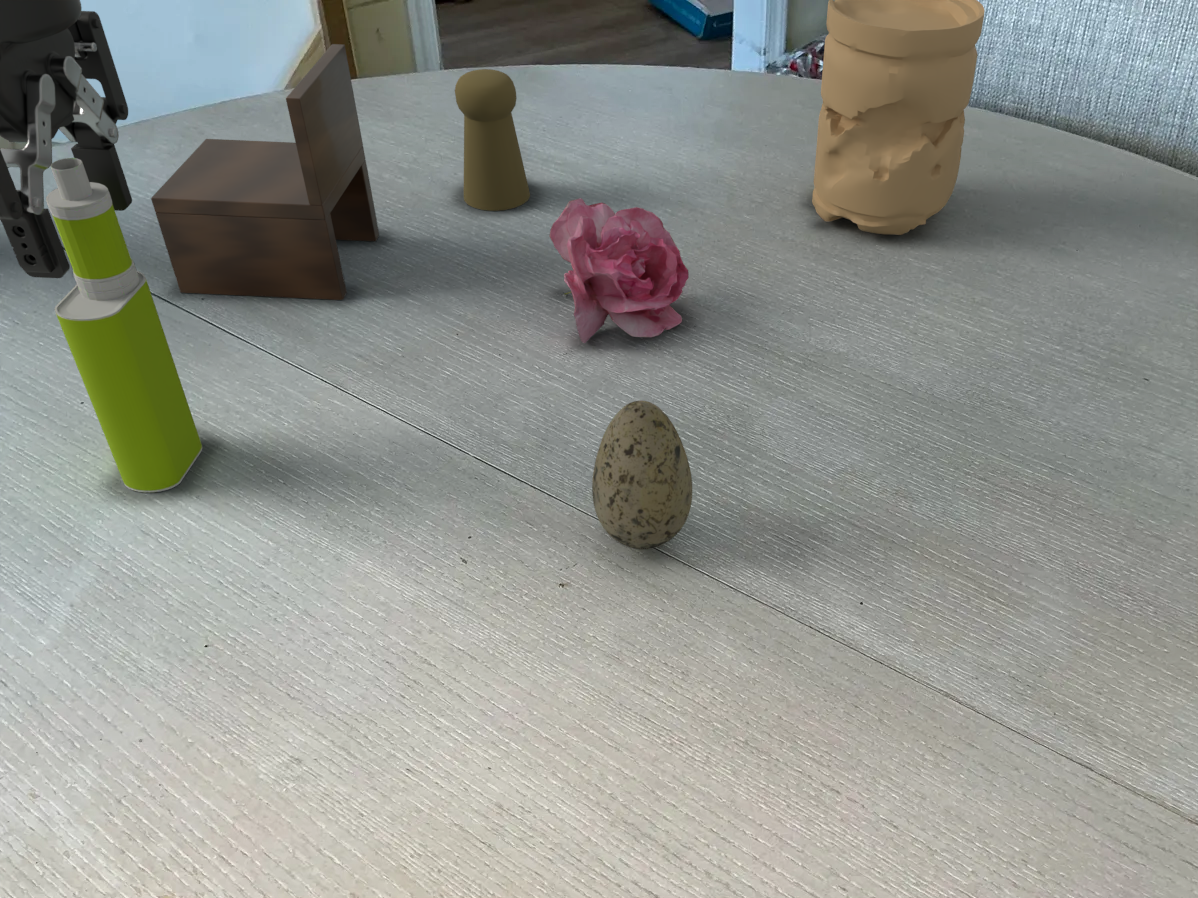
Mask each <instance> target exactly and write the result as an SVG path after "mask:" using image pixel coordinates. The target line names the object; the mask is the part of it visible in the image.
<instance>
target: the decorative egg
mask: <svg viewBox="0 0 1198 898" xmlns="http://www.w3.org/2000/svg"><path fill="white" fill-rule="evenodd" d="M691 471H692V470H691V466H690V462H689V459H688V456H687V452H686V449H685V447H684V444H683V442H682V439H681V436H680V435H679V432H678V431H677V428H676V427H675V425H674V424H673V422H672V421H671V419H670V418H669V416H668V415H667V414H666V413H665V412H664V410H663V409H661V408H660V407H659V406H658V405H656V404H655V403H652V402H650V401H647V400H634V401H632V402H629V403H627V404H626V405H624V406H623V407H621V408H620V409H619V410H618V411H617V413H616V414H615V415H614V416H613V418H612V419H611V421H610V422H609V424H608V425H607V427H606V429H605V431H604V433H603V435H602V438H601V441H600V444H599V447H598V449H597V452H596V456H595V461H594V466H593V471H592V480H591V481H592V482H591V493H592V494H591V495H592V502H593V507H594V511H595V514H596V517H597V519H598V522H599V523H600V526H601V527H602V528H603V530H604V531H605V532H606V533H607V534H608V536H610V537H611V538H612V539H613V540H615V541H616V542H617V543H619V544H620V545H622V546H625V547H627V548H630V549H633V550H652V549H656V548H659V547H662V546H663V545H665V544H667V543H668V542H670V541H671V540H672V539H674V537H676V536H677V535H678V534H679V533H680V531H681V530H682V528H683V527H684V525H685V524H686V522H687V520H688V518H689V515H690V512H691V508H692V504H693V503H692V502H693V479H692V478H693V477H692V472H691Z"/></svg>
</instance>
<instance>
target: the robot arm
mask: <svg viewBox="0 0 1198 898" xmlns="http://www.w3.org/2000/svg"><path fill="white" fill-rule="evenodd" d="M82 8H83V7H82V1H81V0H0V138H2V139H4V140H6V141H8V142H9V143H26V144H25V146H24V147H21V148H5V147H3V148H1V147H0V222H1V224H2V226H3V229H4V232H5V234H6V236H7V239H8V241H9V244H10V246H11V247H12V251H13V253H14V255H15V258H16V260H17V263H18V266H19V267H20V268H21V269H22V271H23V272H24V273H25V274H26V275H28V276H30V277H32V278H42V279H44V278H45V279H61V278H63V277H64V275H66V274H67V273H68V272H69V270H70V267H71V264H70V261H69V259H68V256H67V254H66V251H65V248H64V246H63V243H62V240H61V238H60V235H59V233H58V230H57V229H56V228H57V227H56V225H55V224H54V223H55V222H54V220H53V217H52V216H51V215H52V214H51V212H50V210H49V208H45V193H44V192H45V191H44V189H45V188H44V187H45V186H44V172H45V171H46V170H48V169H49V168H51V164H52V163H53V141H52V140H53V139H54V138H55V137H56V135H57V133H58V131H59V132H61V133H62V134H63V136H64V137H65V138H66V139H68V141H69V142H71V143H75V144H74V145H73V146H72V147H71V148H70V150H71V153H72V156H73V158H77V159H80V160H81V161H82V163H83V165H84V168H85V171H86V174H87V177H88V180H89V182H94V183H99V184H102V185H104V186H106V187H107V188H108V191H109V193H110V196H111V199H112V204H113V207H114V210H115V212H116V211H118V212H119V211H120V212H122V211H125V210H127V209H128V207H130V205H131V204H132V203H133V198H132V197H133V196H132V194H131V191H130V187H129V185H128V182H127V178H126V176H125V173H124V170H123V167H122V164H121V160H120V157H119V154H118V151H117V148H116V145H115V144H117V143H118V141H119V129H118V126H117V123H118V121H126V120H127V119H128V117H129V106H128V103H127V99H126V96H125V93H124V90H123V86H122V84H121V82H120V81H121V80H120V77H119V75H118V72H117V68H116V64H115V62H114V59H113V56H112V52H111V49H110V46H109V42H108V40H107V36H106V32H105V30H104V26H103V24H102V20H101V18H100V15H99V13H97V12H96V11H95V10H94V11H93V10H82ZM88 80H96V81H98V82H99V84H100V85H101V87H102V91H103V94H104V96H101V95H100V93H98V91H97V90H96V89H95V88H94V86H93V85H92V84H91V83H90V81H88ZM9 168H18V169H19V178H20V179H19V180H20V181H19V183H20V189H17V188H16V185H15V183H14V180H13V178H12V175H11V172H10V170H9Z"/></svg>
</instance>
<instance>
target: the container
mask: <svg viewBox="0 0 1198 898" xmlns="http://www.w3.org/2000/svg"><path fill="white" fill-rule="evenodd" d="M984 21H985V7H984V5H983V4H982V3H981V2H980V1H979V0H828V2H827V13H826V22H825V23H826V30H827V31H828V32H827V33H828V34H827V35H826V36H825V38H824V51H823V61H822V62H823V63H822V72H821V86H820V96H821V99H822V103H821V108H820V111H819V115H818V120H817V121H818V122H817V123H818V124H817V135H816V137H817V138H816V149H815V161H814V172H813V173H814V174H813V186H814V188H813V190H812V198H811V201H812V202H811V203H812V206H813V207H814V209H815V212H816V213H817V215H818V216H819V217H820V218H821V219H822V220H823V221H824V222H826V223H829V222H833V221H836V220H839V219H843V218H844V219H846V220H849V221H851V222H852V223H854V224H856V225H857V228H858V230H860V231H862V232H866V233H871V234H879V235H898V236H902V235H905V234H907V233H909V232H910V230H914V229H916V228H917V227H918V226H922V225H926V224H927V220H928V219H929V218H931V217H932V216H934V215H936V214H938V213H939V212H941V211H942V210H943V208H945V206H946V205H947V204H948V202H949V200H950V198H951V197H952V194H953V193H954V190H955V186H956V184H957V183H956V182H957V179H958V175H959V171H960V165H961V157H962V146H963V143H964V137H965V122H966V116H965V109H966V108H967V107H968V105H969V103H970V101H971V95H972V91H973V86H974V82H975V81H974V80H975V74H976V68H977V61H978V51H977V47H976V45H977V43H978V42H979V39H980V38H981V36H982V31H983V26H984Z"/></svg>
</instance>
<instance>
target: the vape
mask: <svg viewBox="0 0 1198 898" xmlns="http://www.w3.org/2000/svg"><path fill="white" fill-rule="evenodd" d="M50 169H51V172H52V175H53V178H54V181H55V183H56V186H57V188H54V189H53V190H51V191H50V192H49V193H48V194H47V195H46V198H45V202H46V204H47V208H48V210H49V213H50V215H52V216H51V217H52V219H53V222H54V223H55V224H54V225H55V227H56V228H57V229H56V230H57V233H58V235H59V238H60V241H61V243H62V246H63V248H64V251H65V254H66V256H67V259H68V262H69V264H70V267H71V268H72V273H73V278H74V280H75V283H76V284H75V285H74V286H73V287H72V289H70V291H69V292H67V294H66V295H65V296H64V297H63V298H61V300H59V302H58V303H57V304H56V305H55V306H54V313H55V315H56V318H57V320H58V322H59V325H60V328H61V330H62V333H63V335H64V338H65V340H66V342H67V345H68V348H69V351H70V352H71V355H72V357H73V360H74V363H75V365H76V367H77V370H78V372H79V375H80V377H81V381H82V382H83V385H84V387H85V390H86V393H87V394H88V397H89V400H90V402H91V405H92V407H93V410H94V412H95V415H96V418H97V420H98V422H99V425H100V427H101V430H102V432H103V435H104V437H105V440H106V442H107V445H108V447H109V450H110V452H111V454H112V458H113V460H114V462H115V465H116V468H117V470H118V473H119V475H120V477H121V480H122V482H123V485H124V486H125V487H126V488H127V489H129V490H131V491H135V492H137V493H160V492H164V491H168V490H171V489H173V488H176V487H177V486H179V484H181V483H182V482H183V480H184V478H185V477H186V475H187V474H188V472H189V471H190V469H191V468H192V466H193V465H194V463H195V462H196V461H197V459H198V458H199V456H200V454H201V453H202V451H203V444H202V441H201V438H200V436H199V432H198V430H197V426H196V424H195V421H194V417H193V415H192V411H191V408H190V406H189V402H188V400H187V397H186V394H185V391H184V387H183V384H182V382H181V379H180V375H179V373H178V369H177V367H176V364H175V361H174V358H173V355H172V352H171V349H170V345H169V343H168V340H167V337H166V334H165V331H164V327H163V325H162V322H161V319H160V316H159V313H158V310H157V306H156V304H155V301H154V298H153V295H152V293H151V289H150V286H149V283H148V281H147V277H146V275H145V273H143V272H141V271H138V270H137V268H136V265H135V262H134V260H133V259H132V257H131V255H130V251H129V248H128V246H127V243H126V239H125V237H124V234H123V230H122V228H121V225H120V222H119V219H118V216H117V213H116V210H114V207H113V204H112V199H111V196H110V193H109V191H108V188H107V187H106V186H104V185H102V184H99V183H94V182H89V180H88V177H87V174H86V171H85V168H84V165H83V163H82V161H81V160H80V159H77V158H74V157H67V158H61V159H57V160H55V161H52V164H51V166H50Z"/></svg>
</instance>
